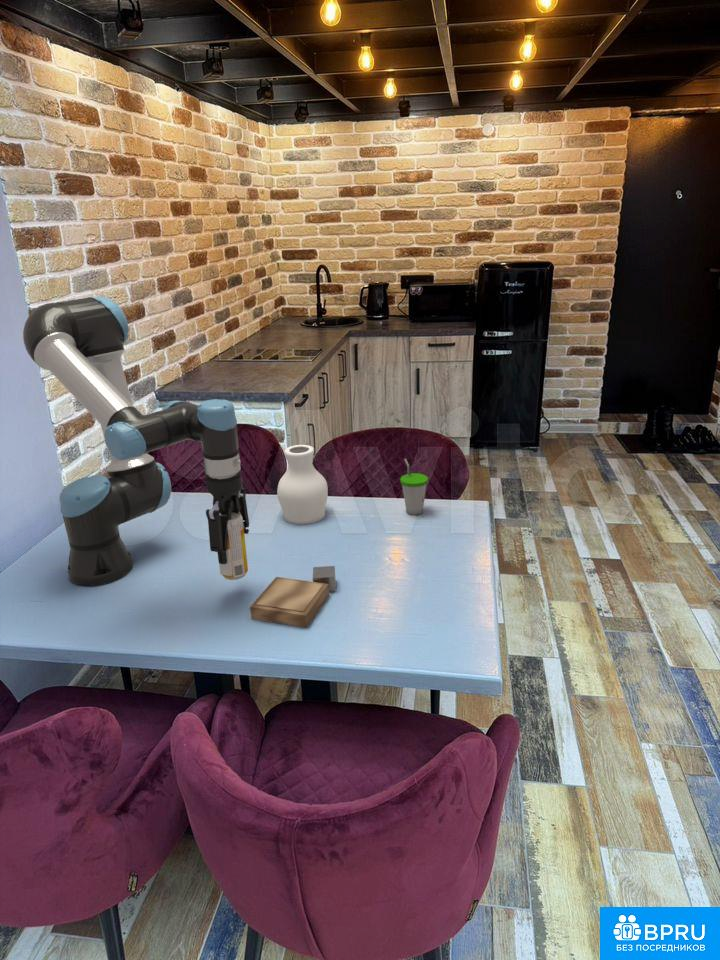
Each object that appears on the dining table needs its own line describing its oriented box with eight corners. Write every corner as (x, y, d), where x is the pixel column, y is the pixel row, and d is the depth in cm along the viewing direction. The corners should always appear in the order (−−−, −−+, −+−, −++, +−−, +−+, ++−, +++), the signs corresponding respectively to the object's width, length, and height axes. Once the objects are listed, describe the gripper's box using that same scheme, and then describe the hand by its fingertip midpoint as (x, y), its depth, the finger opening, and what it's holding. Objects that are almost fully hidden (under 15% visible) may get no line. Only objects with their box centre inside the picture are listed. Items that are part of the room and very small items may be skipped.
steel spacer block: (313, 593, 156) (312, 578, 155) (314, 582, 161) (313, 567, 159) (335, 592, 156) (334, 576, 155) (335, 580, 161) (334, 565, 159)
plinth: (251, 618, 147) (249, 605, 146) (277, 588, 159) (275, 575, 157) (307, 627, 143) (305, 614, 142) (329, 595, 155) (328, 583, 153)
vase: (283, 529, 187) (276, 461, 180) (276, 508, 200) (269, 444, 193) (334, 521, 190) (329, 454, 183) (324, 502, 203) (319, 438, 196)
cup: (430, 517, 190) (429, 467, 184) (401, 518, 190) (400, 468, 184) (427, 505, 197) (426, 456, 191) (399, 507, 197) (398, 458, 192)
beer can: (239, 564, 160) (233, 506, 154) (253, 574, 155) (247, 515, 149) (216, 573, 156) (209, 514, 150) (229, 584, 152) (222, 523, 146)
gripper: (216, 492, 136) (228, 591, 145) (259, 458, 153) (267, 549, 162) (183, 488, 139) (197, 586, 148) (229, 455, 155) (239, 545, 164)
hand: (233, 566), depth 155 cm, fingers closed on beer can, 6 cm apart
